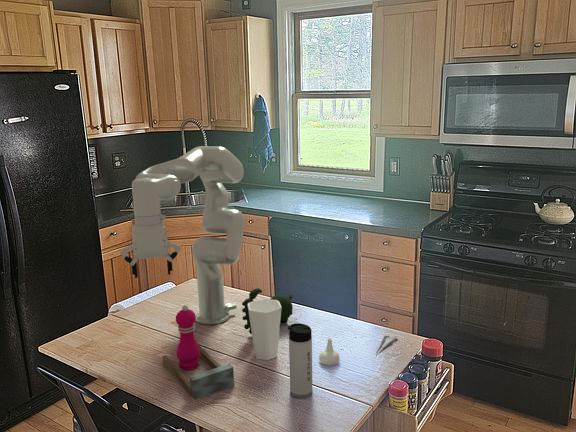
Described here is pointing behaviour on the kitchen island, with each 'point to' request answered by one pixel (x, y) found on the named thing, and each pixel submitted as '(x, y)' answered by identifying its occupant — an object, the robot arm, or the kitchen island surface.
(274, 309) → the cup
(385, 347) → the tweezers
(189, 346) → the pepper mill
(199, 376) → the guide channel
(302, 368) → the travel mug
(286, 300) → the toy figurine
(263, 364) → the kitchen island surface
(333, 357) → the garlic bulb
